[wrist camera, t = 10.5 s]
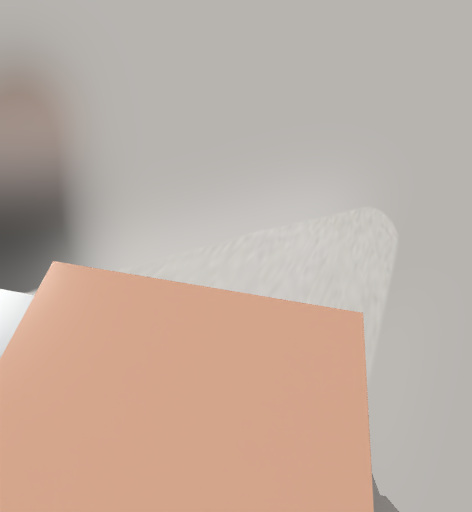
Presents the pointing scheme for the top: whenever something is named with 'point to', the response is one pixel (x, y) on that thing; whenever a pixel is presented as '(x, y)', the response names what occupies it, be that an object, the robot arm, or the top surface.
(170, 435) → the tan block
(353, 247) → the top surface
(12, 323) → the light gray boxy block
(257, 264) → the top surface
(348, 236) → the top surface
